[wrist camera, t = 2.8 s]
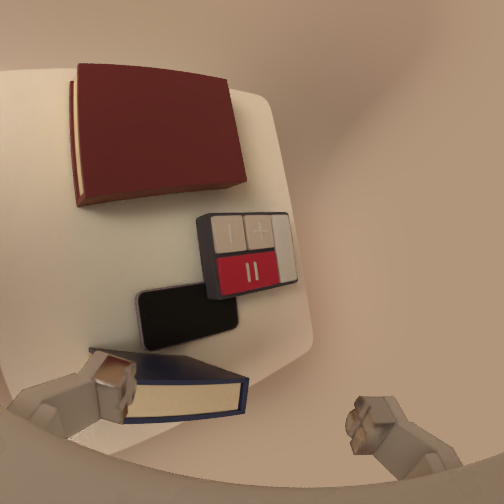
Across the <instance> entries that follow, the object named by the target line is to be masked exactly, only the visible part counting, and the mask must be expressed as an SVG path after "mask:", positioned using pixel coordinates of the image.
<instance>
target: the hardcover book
mask: <svg viewBox="0 0 504 504" xmlns="http://www.w3.org/2000/svg"><path fill="white" fill-rule="evenodd" d="M98 350H99V351H102V352H105V353H108V354H111V355H115V356H118V357H121V358H124V359H127V360H131V361H134V362H136V366H137V371H136V373H135V375H134V377H135V379H136V380H137V387H136V393H135V397H134V400H133V402H132V404H131V405H129V406H128V414H127V416H126V418H125V420H124V422H123V424H144V423H165V422H179V421H191V420H200V419H210V418H217V417H225V416H232V415H239V414H244V413H245V409H246V401H247V393H248V385H249V378H248V377H245V376H242V375H239V374H236V373H233V372H230V371H227V370H224V369H221V368H218V367H215V366H212V365H210V364H207V363H204V362H201V361H199V360H196V359H193V358H191V357H188V356H177V355H160V354H147V353H135V352H124V351H114V350H105V349H97V348H89V352H90V357H91V356H92V355H93V354H94V352H95V351H98Z"/></svg>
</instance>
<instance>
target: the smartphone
mask: <svg viewBox="0 0 504 504" xmlns="http://www.w3.org/2000/svg"><path fill="white" fill-rule="evenodd" d="M135 305H136V313H137V320H138V326H139V333H140V339H141V344H142V347H143V348H144V349H145V350H148V351H156V350H160V349H164V348H168V347H172V346H176V345H180V344H183V343H187V342H191V341H194V340H198V339H201V338H205V337H209V336H212V335H216V334H219V333H222V332H226V331H229V330H233V329H235V328H236V327H237V325H238V311H237V302H236V297H232V298H227V299H222V300H210V299H208V297H207V289H206V282H200V283H194V284H187V285H180V286H172V287H166V288H159V289H152V290H145V291H141V292H139V293H138V294H137V295H136V298H135Z"/></svg>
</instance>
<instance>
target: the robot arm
mask: <svg viewBox="0 0 504 504" xmlns="http://www.w3.org/2000/svg"><path fill="white" fill-rule="evenodd" d="M136 371H137V366H136V362H134V361H131V360H127V359H124V358H121V357H118V356H115V355H111V354H108V353H105V352H102V351H99V350H98V351H95V352H94V354H93V355H92V356H91V357H90V359H89V360H88V361H87V363H86V364H85V365H84V367H83V368H82V369H81V371H80V372H79V373H78V374H75V373H73V374H70V375H67V376H64V377H61V378H58V379H55V380H52V381H49V382H46V383H43V384H40V385H36V386H33V387H30V388H27V389H24V390H22V391H21V392H20V393H19V394H18V395H17V397H16V398H15V399H14V400H13V401H12V402H11V404H10V405H9V406H8V407H7V408H4V407H2V406H1V405H0V504H504V453H501V454H498V455H496V456H493V457H490V458H487V459H484V460H481V461H478V462H475V463H472V464H468V465H465V466H463V464H462V462H461V461H460V459H459V457H458V456H457V454H456V452H455V451H454V449H453V448H452V447H451V446H449V445H447V444H446V443H444V442H443V441H441V440H439V439H438V438H436V437H435V436H433V435H432V434H430V433H428V432H427V431H425V430H424V429H422V428H421V427H419V426H417V425H416V424H414V423H413V422H409V421H408V419H407V418H406V416H405V414H404V412H403V410H402V409H401V407H400V405H399V403H398V402H397V400H396V398H395V397H393V396H382V397H370V396H359V397H358V398H357V399H356V401H355V403H354V406H355V409H353V410H352V411H350V412H349V414H348V417H347V419H346V425H345V427H346V432H347V435H348V436H350V437H351V438H352V440H351V441H350V445H351V448H352V451H353V454H354V455H373V456H374V457H375V458H376V459H377V460H378V461H379V462H380V463H381V464H382V465H383V466H384V467H385V468H386V469H388V471H389V472H390V473H391V474H393V476H395V477H396V478H397V479H398V481H393V482H385V483H377V484H368V485H358V486H344V487H323V488H289V487H288V488H287V487H267V486H254V485H243V484H234V483H226V482H219V481H212V480H206V479H200V478H194V477H189V476H184V475H179V474H174V473H170V472H166V471H161V470H157V469H153V468H150V467H146V466H142V465H138V464H135V463H132V462H128V461H125V460H122V459H118V458H115V457H113V456H110V455H107V454H104V453H101V452H98V451H95V450H93V449H90V448H87V447H85V446H82V445H80V444H77V443H75V442H72V441H70V440H68V439H67V438H69V437H71V436H72V435H74V434H76V433H78V432H79V431H81V430H83V429H84V428H86V427H88V426H89V425H91V424H93V423H95V422H96V421H98V420H100V418H102V419H105V420H108V421H112V422H115V423H118V424H122V425H123V422H124V420H125V418H126V416H127V414H128V406H129V405H131V404H132V402H133V400H134V397H135V393H136V387H137V380H136V379H135V377H134V375H135V373H136Z"/></svg>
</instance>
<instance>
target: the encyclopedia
mask: <svg viewBox="0 0 504 504" xmlns="http://www.w3.org/2000/svg"><path fill="white" fill-rule="evenodd" d="M69 112H70V140H71V156H72V168H73V178H74V187H75V196H76V203H77V207H80V206H86V205H93V204H99V203H106V202H112V201H119V200H126V199H134V198H141V197H149V196H157V195H166V194H175V193H184V192H193V191H203V190H214V189H225V188H229V187H232V186H235V185H238V184H241V183H243V182H246V181H247V177H246V172H245V167H244V162H243V157H242V152H241V147H240V142H239V137H238V132H237V127H236V122H235V118H234V113H233V108H232V103H231V98H230V93H229V88H228V84H227V80H226V79H222V78H217V77H212V76H206V75H201V74H195V73H188V72H182V71H174V70H167V69H159V68H150V67H141V66H129V65H128V66H127V65H114V64H88V63H87V64H86V63H82V64H81V63H80V64H78V66H77V76H76V78H75V81H70V90H69Z"/></svg>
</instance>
